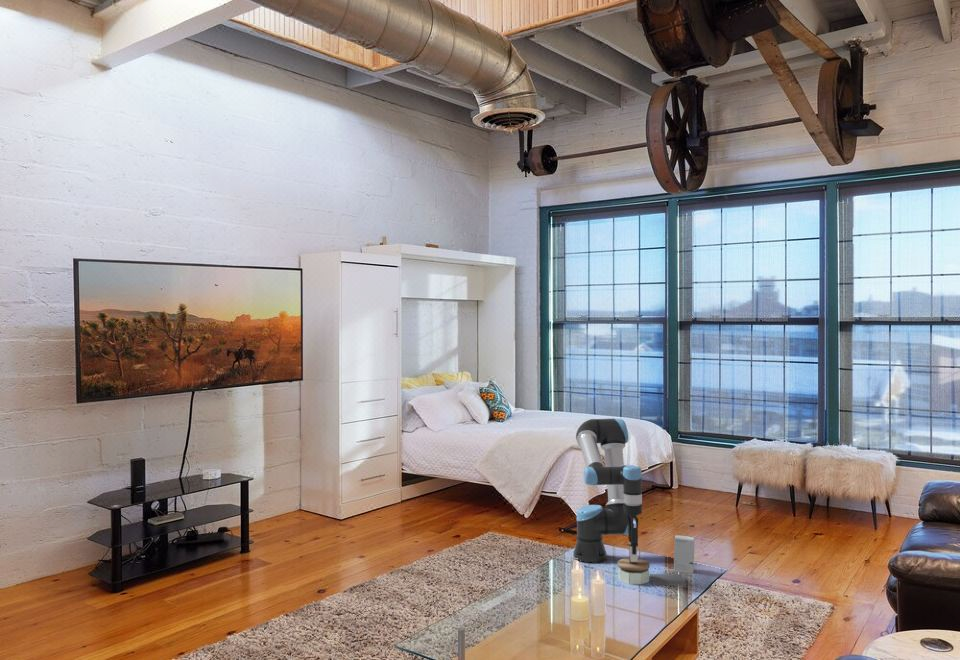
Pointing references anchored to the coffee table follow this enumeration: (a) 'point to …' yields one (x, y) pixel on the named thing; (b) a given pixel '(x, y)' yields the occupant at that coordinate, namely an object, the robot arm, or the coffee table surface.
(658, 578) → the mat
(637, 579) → the bowl
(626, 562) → the lid
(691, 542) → the skincare box
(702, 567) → the coffee table surface
